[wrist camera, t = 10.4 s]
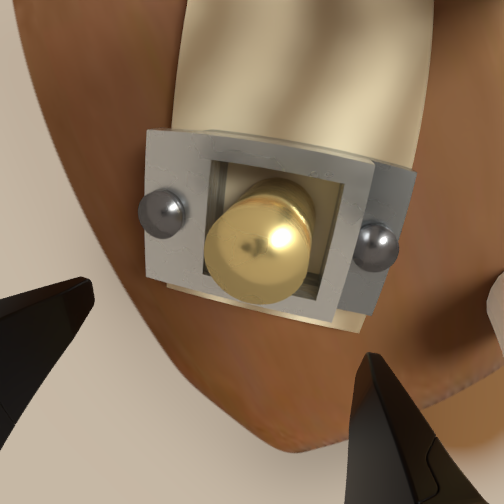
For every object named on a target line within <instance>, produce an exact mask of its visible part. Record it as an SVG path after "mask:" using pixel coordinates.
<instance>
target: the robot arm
mask: <svg viewBox="0 0 504 504" xmlns="http://www.w3.org/2000/svg"><path fill="white" fill-rule="evenodd" d="M94 302H95V298H94V293H93V286H92V282H91V280H90V279H87V278H84V277H77V278H73V279H70V280H66V281H63V282H59V283H55V284H52V285H49V286H45V287H41V288H38V289H34V290H31V291H27V292H24V293H20V294H17V295H13V296H10V297H7V298H3V299H0V450H1V448H2V447H3V445H4V443H5V441H6V440H7V438H8V436H9V435H10V433H11V431H12V430H13V428H14V426H15V424H16V423H17V421H18V420H19V418H20V416H21V415H22V413H23V412H24V410H25V409H26V407H27V405H28V404H29V402H30V401H31V399H32V398H33V396H34V395H35V393H36V392H37V390H38V389H39V387H40V385H41V384H42V383H43V381H44V380H45V378H46V377H47V375H48V374H49V372H50V371H51V369H52V368H53V367H54V365H55V364H56V362H57V361H58V360H59V358H60V357H61V355H62V354H63V353H64V351H65V350H66V348H67V347H68V346H69V344H70V343H71V342H72V340H73V339H74V337H75V335H76V334H77V332H78V331H79V329H80V327H81V325H82V324H83V322H84V320H85V319H86V317H87V316H88V314H89V312H90V311H91V309H92V307H93V306H94ZM344 504H489V503H487V502H486V501H485V500H484V499H483V497H482V496H481V495H480V494H479V493H478V491H477V490H476V489H475V487H474V486H473V485H472V484H471V482H470V481H469V480H468V479H467V477H466V476H465V475H464V474H463V472H462V471H461V470H460V468H459V467H458V466H457V465H456V463H455V462H454V461H453V459H452V458H451V457H450V455H449V454H448V452H447V451H446V449H445V448H444V446H443V445H442V443H441V442H440V440H439V439H438V437H436V434H435V433H434V431H433V430H432V428H431V427H430V425H429V424H428V422H427V421H426V419H425V418H424V416H423V415H422V414H421V412H420V410H419V409H418V407H417V406H416V405H415V403H414V402H413V400H412V399H411V397H410V396H409V394H408V393H407V391H406V390H405V389H404V387H403V386H402V384H401V383H400V381H399V380H398V379H397V377H396V376H395V374H394V373H393V371H392V370H391V369H390V367H389V366H388V364H387V363H386V362H385V360H384V359H383V357H382V356H381V355H380V354H377V353H371V352H368V353H366V354H365V356H364V358H363V360H362V362H361V364H360V366H359V368H358V371H357V373H356V377H355V385H354V393H353V400H352V407H351V414H350V422H349V445H348V464H347V479H346V491H345V502H344Z"/></svg>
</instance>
